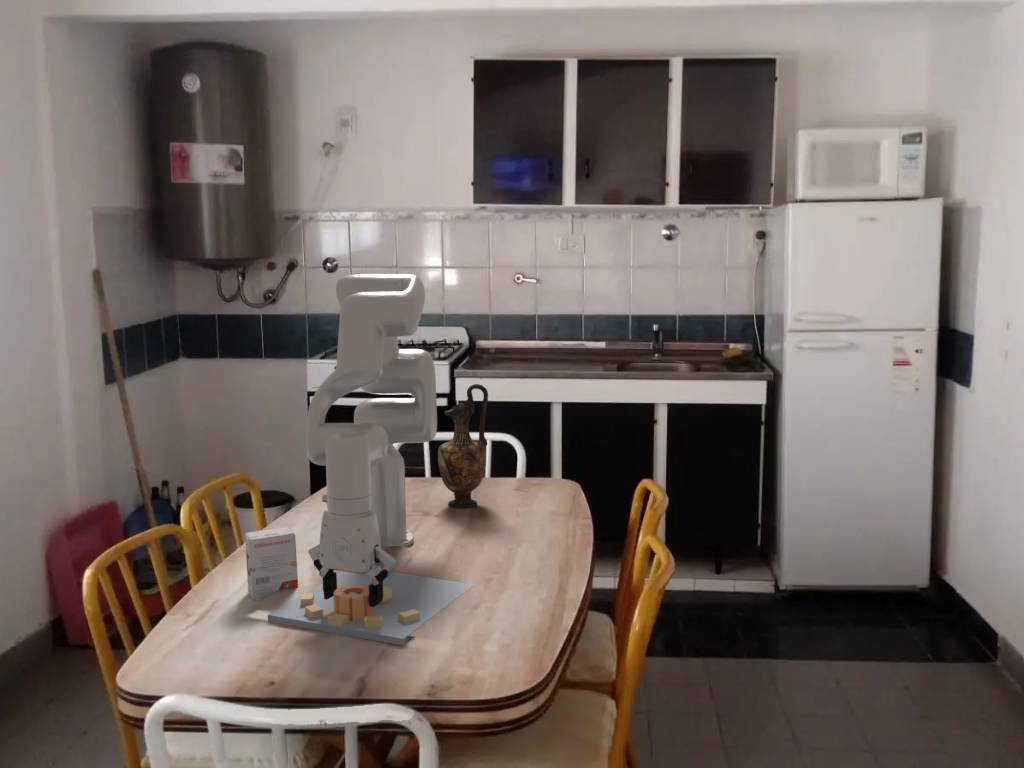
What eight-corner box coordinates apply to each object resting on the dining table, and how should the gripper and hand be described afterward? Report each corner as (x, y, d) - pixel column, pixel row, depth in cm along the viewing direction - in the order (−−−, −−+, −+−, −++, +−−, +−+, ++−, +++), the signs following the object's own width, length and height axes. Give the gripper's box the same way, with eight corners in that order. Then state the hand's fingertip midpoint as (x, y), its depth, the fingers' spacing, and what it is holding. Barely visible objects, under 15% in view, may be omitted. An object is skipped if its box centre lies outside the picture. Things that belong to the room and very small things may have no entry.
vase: (444, 497, 252) (442, 380, 248) (493, 499, 251) (491, 380, 246) (434, 510, 241) (431, 387, 236) (485, 512, 239) (483, 388, 234)
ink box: (292, 585, 192) (290, 525, 190) (299, 593, 188) (296, 532, 186) (246, 592, 188) (243, 532, 186) (252, 601, 184) (249, 539, 182)
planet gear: (327, 617, 173) (326, 595, 172) (348, 603, 179) (347, 582, 178) (360, 622, 170) (360, 600, 170) (380, 609, 176) (379, 587, 176)
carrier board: (267, 621, 175) (266, 595, 174) (352, 571, 199) (351, 549, 198) (403, 645, 164) (402, 618, 163) (474, 590, 188) (474, 566, 188)
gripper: (294, 504, 172) (298, 601, 174) (382, 515, 165) (385, 615, 168) (319, 493, 178) (323, 586, 181) (404, 503, 172) (407, 600, 174)
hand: (353, 600), depth 174 cm, fingers open, 8 cm apart
